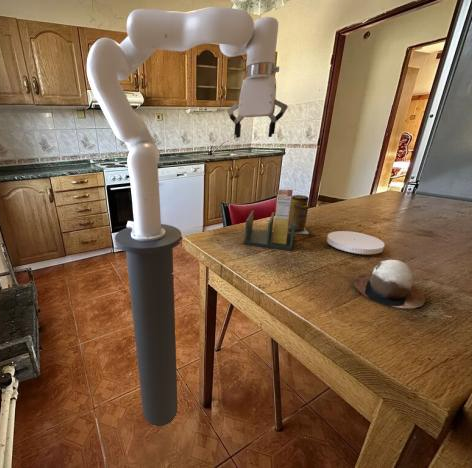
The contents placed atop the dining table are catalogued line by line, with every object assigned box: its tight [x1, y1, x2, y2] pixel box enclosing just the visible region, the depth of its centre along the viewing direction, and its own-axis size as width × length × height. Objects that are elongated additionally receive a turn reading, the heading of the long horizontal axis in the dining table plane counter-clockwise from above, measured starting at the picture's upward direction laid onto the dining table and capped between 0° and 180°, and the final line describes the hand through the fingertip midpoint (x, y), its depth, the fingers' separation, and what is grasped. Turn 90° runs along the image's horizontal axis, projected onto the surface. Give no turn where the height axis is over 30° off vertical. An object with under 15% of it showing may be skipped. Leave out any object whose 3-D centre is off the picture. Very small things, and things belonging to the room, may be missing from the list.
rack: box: [243, 210, 296, 252], centre depth 83 cm, size 14×12×8 cm
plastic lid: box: [326, 230, 386, 255], centre depth 77 cm, size 14×14×2 cm
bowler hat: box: [353, 259, 426, 309], centre depth 56 cm, size 12×10×10 cm
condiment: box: [288, 194, 310, 235], centre depth 90 cm, size 7×8×12 cm
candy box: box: [273, 189, 293, 245], centre depth 80 cm, size 9×4×15 cm, turn 154°
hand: (253, 137), depth 80 cm, fingers open, 9 cm apart
